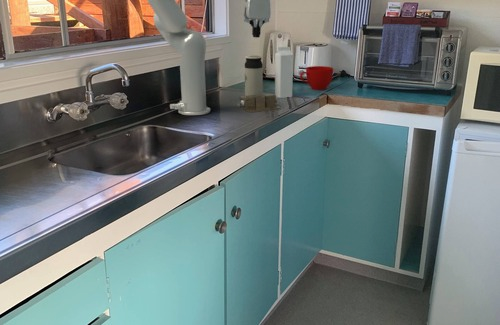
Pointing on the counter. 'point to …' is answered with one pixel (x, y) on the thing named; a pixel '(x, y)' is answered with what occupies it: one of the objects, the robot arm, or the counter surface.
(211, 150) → the counter surface
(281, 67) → the milk
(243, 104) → the pin
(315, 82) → the ceramic cup
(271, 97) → the hinge
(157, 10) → the robot arm
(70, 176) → the counter surface
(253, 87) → the travel mug
